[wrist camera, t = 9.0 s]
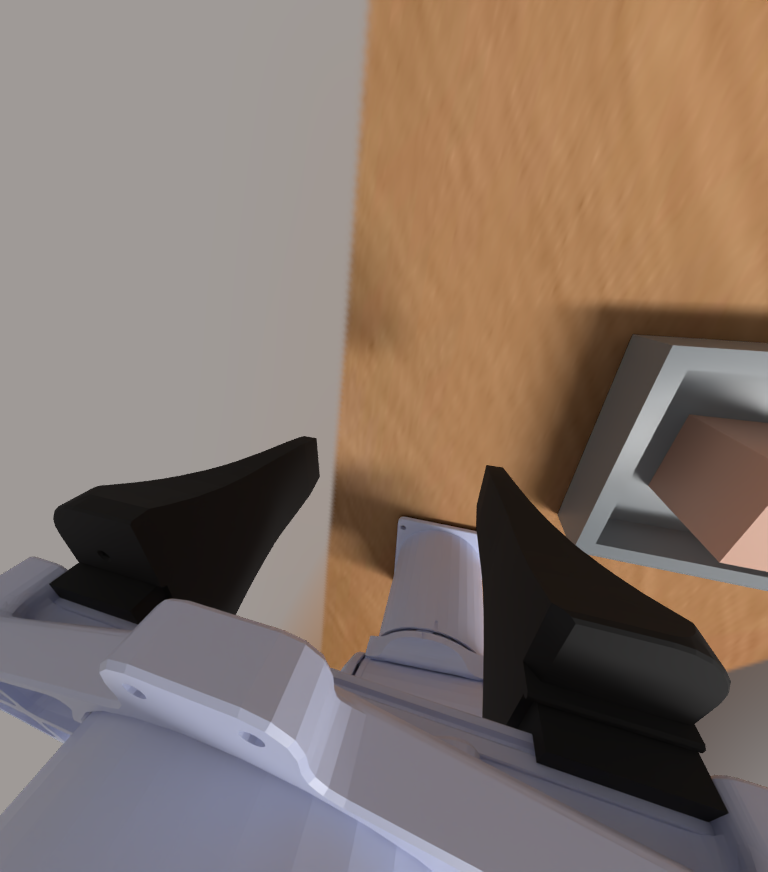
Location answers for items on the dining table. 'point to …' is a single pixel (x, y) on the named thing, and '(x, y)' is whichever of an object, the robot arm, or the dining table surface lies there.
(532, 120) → the dining table surface
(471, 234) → the dining table surface
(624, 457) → the bin
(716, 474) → the block
